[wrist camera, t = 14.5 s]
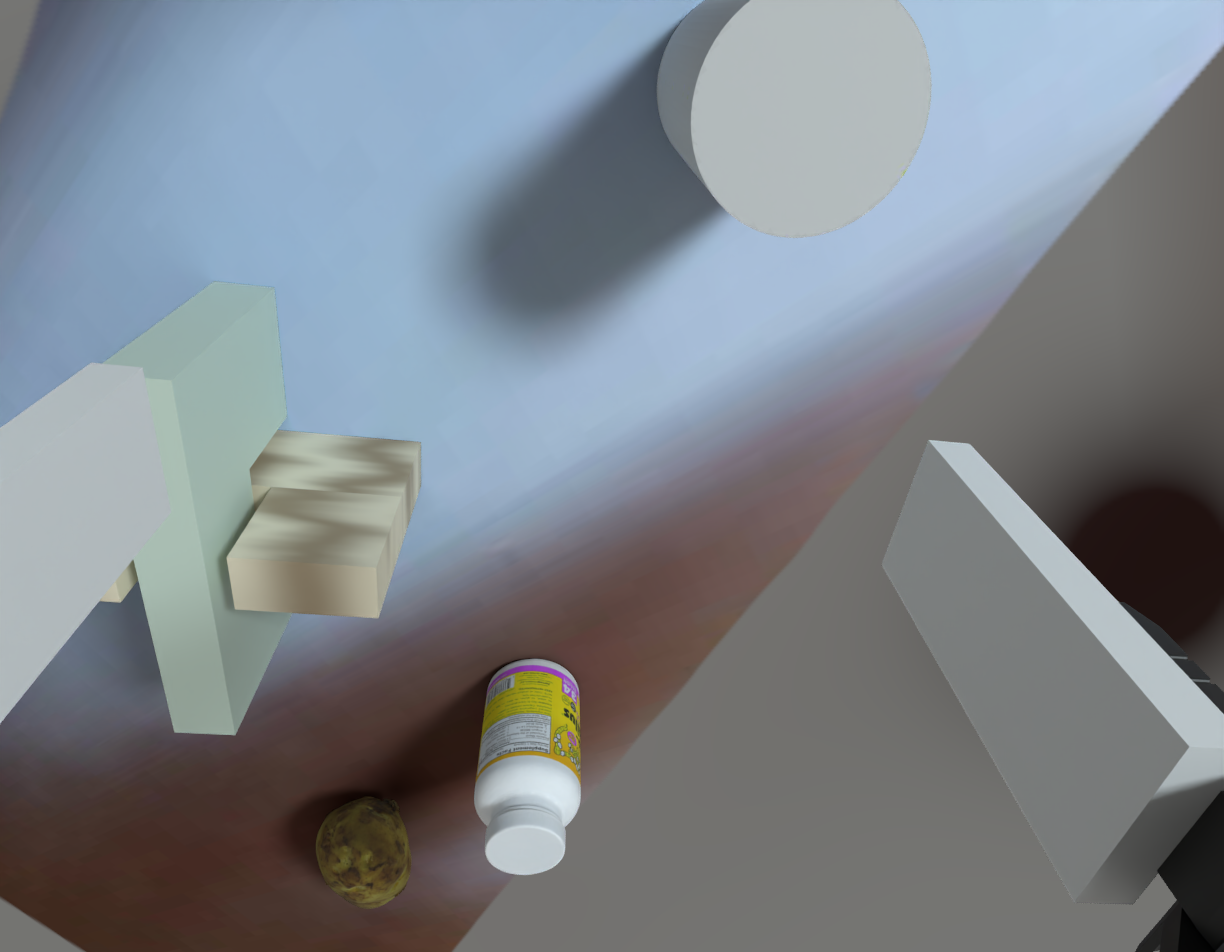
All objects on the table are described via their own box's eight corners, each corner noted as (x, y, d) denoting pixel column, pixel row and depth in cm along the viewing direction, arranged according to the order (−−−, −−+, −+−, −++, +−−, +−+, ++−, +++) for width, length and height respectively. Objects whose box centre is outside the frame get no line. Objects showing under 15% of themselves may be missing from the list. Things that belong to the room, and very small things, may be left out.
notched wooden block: (106, 460, 45) (-33, 592, 34) (95, 414, 43) (-54, 538, 33) (421, 485, 46) (378, 618, 36) (420, 442, 45) (376, 567, 35)
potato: (296, 844, 64) (263, 944, 57) (352, 750, 58) (323, 848, 51) (391, 870, 66) (370, 969, 59) (453, 782, 61) (438, 880, 54)
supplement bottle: (578, 719, 58) (580, 885, 47) (489, 719, 57) (469, 887, 46) (580, 653, 54) (583, 815, 43) (485, 653, 54) (464, 817, 43)
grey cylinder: (688, 204, 39) (730, 271, 29) (632, 31, 35) (657, 36, 25) (844, 140, 38) (947, 186, 27) (805, -46, 34) (908, -75, 23)
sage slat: (214, 281, 40) (89, 373, 29) (274, 287, 40) (171, 380, 30) (256, 584, 50) (174, 732, 39) (304, 587, 50) (235, 735, 40)
